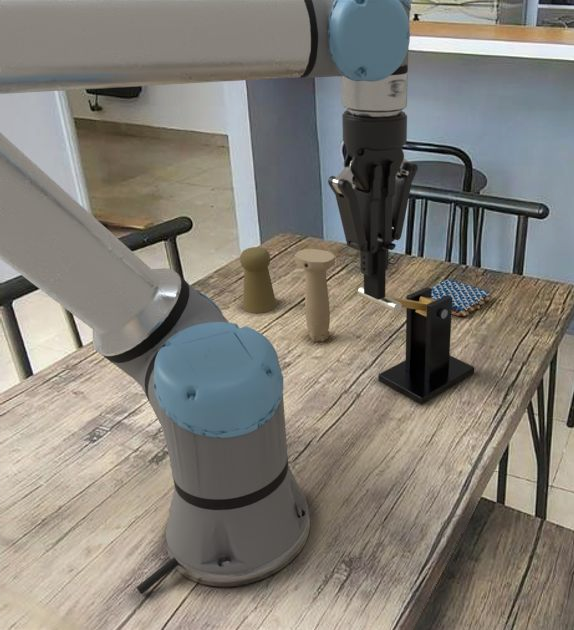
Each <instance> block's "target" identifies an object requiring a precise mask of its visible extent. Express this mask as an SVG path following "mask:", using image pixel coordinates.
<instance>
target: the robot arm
mask: <svg viewBox="0 0 574 630" xmlns="http://www.w3.org/2000/svg"><path fill="white" fill-rule="evenodd" d="M411 11H412V5H411V0H0V95H8V94H24V93H42V92H43V93H45V92H61V91H77V90H79V91H81V90H96V89H113V88H131V87H132V88H133V87H149V86H151V87H152V86H166V85H167V86H168V85H185V84H203V83H205V84H206V83H218V82H220V83H221V82H238V81H239V82H240V81H257V80H274V79H275V80H276V79H292V78H294V79H295V78H301V79H302V78H303V79H311V78H312V79H314V78H330V77H332V78H333V77H341V106H342V107H343V108H345V109H346V110H345V111H343V113H342V114H341V115H342V116H341V119H342V122H341V123H342V124H341V125H342V141H343V143H344V145H345V148H346V155H345V157H344V161H343V169H342V170H341V171H340V173H339V174H338V175H337V176H334V175H331V176H329V177H328V180H327V183H328V186H329V188H330V189H331V190H332V192H333V194H334V195H335V199H336V203H337V206H338V208H337V209H338V212H339V216H340V221H341V225H342V230H343V233H344V238H345V242H346V246H347V247H348V248H351V249H353V250H356V251H358V252H360V257H359V258H360V272H361V274H363V286H364V294H366V295H369V296H371V297H373V298H375V299H377V300H379V299H381V298H384V297H385V296H386V273H387V272H386V271H387V270H388V269H389V255H390V253H389V252H390V251H393V250H394V249H396V247H397V244H395V243H394V241H400V240H401V238H402V236H403V235H402V234H403V230H404V224H405V219H406V214H407V210H408V205H409V199H410V193H411V188H412V183H413V181H414V178H415V176H416V174H417V172H418V169H419V165H418V164H417V163H414V162H411V161H408V160H407V159H405V152H404V150H403V147H404V146H405V145H406V144H407V141H408V115H407V114H406V113H405V112H404V111H403V110H405V109H406V108H407V107H408V84H409V83H408V79H409V78H408V75H409V50H410V49H409V47H410V41H411V39H410V38H411V32H410V30H411V27H410V15H411ZM0 260H1V261H2V262H3V263H5V264H6V265H8V266H9V267H10V268H12V269H13V270H14V271H16V272H17V273H18V274H19V275H21V276H22V277H23V278H25V279H26V280H28V281H29V282H30V283H31V284H32V285H34V286H35V287H37V288H38V289H39V290H40V291H42V292H43V293H45V294H46V295H47V296H48V297H50V298H51V300H53V301H55V302H56V303H57V304H59V306H62V307H63V308H64V309H65V310H67V311H68V312H69V313H70V314H72V315H73V316H75V317H76V318H77V319H79V320H80V321H81V322H83V323H84V324H85V325H86V326H88V327H89V328H90V329H91V330H92V346H93V349H94V350H95V351H96V353H98V354H100V355H101V356H102V357H104V358H105V359H106V360H107V361H109V362H110V363H111V364H113V365H114V366H115V367H117V368H118V369H120V370H121V371H122V372H124V373H125V374H126V375H128V376H129V377H130V378H132V379H133V380H134V381H135V382H136V383H137V384H139V386H140V387H141V389H142V390H143V392H144V394H145V397H146V398H147V400H148V402H149V404H150V406H151V408H152V410H153V412H154V414H155V417H156V419H157V421H158V423H159V424H160V426H161V429H162V432H163V435H164V438H165V439H164V440H165V444H166V448H167V453H168V459H169V465H170V470H171V474H172V475H171V476H172V479H173V485H174V490H173V493H172V499H171V503H170V507H169V512H168V517H167V520H166V524H165V528H164V538H165V539H164V540H165V545H166V549H167V555H168V557H169V560H168V561H167V562H165V563H164V564H163V565H161V566H160V567H159V568H158V569H156V570H155V571H154V572H153V573H152V574H151V575H149V576H147V578H146V579H144V580H143V581H142V582H141V583H139V584H138V585H137V586H136V589H137V591H138V592H139V593H140V595H143V594H144V593H146V592H147V591H149V590H150V589H151V587H153V586H154V585H155V584H156V583H157V582H159V581H160V580H161V579H162V578H164V577H165V576H166V575H167V574H169V573H170V572H171V571H173V570H174V569H175V570H177V571H178V572H179V573H180V574H181V575H182V576H184V577H185V578H187V579H189V580H191V581H192V582H194V583H197V584H201V585H206V586H210V587H222V588H224V587H237V586H243V585H248V584H252V583H256V582H258V581H261V580H263V579H266V578H268V577H270V576H272V575H274V574H276V573H277V572H279V571H280V570H282V569H284V568H285V567H286V566H288V565H289V564H290V563H291V562H292V561H294V560H295V558H296V557H297V556H298V555H299V554H300V552H301V551H302V549H303V548H304V546H305V544H306V542H307V540H308V537H309V533H310V530H311V529H310V527H311V520H310V507H309V502H308V501H307V498H306V496H305V494H304V493H303V490H302V489H301V487H300V485H299V483H298V481H297V479H296V477H295V476H294V474H293V472H292V470H291V468H290V467H289V466H290V465H289V457H288V456H289V455H288V442H287V428H286V417H285V415H286V414H285V403H284V402H285V401H284V375H283V373H282V368H281V365H280V361H279V356H278V353H277V351H276V349H275V347H274V345H273V344H272V342H271V341H270V339H268V338H267V337H266V336H265V335H263V334H262V333H261V332H259V331H258V330H256V329H254V328H251V327H249V326H247V325H246V326H243V327H239V325H238V324H237V323H235V322H229V320H227V318H226V317H225V316H224V314H223V312H222V310H221V309H220V308H219V306H218V305H217V304H216V302H214V301H213V300H212V298H210V297H209V296H208V295H206V294H205V293H202V292H200V291H199V290H198V289H196V288H194V287H193V286H192V285H190V283H189V282H188V281H186V279H184V278H183V277H182V276H181V275H180V274H179V273H177V272H176V271H174V270H173V269H171V268H165V267H164V268H151V267H150V266H149V265H148V264H147V263H146V262H145V261H143V260H142V258H140V257H139V256H138V255H136V254H135V252H133V251H132V250H131V249H130V248H129V247H128V246H127V245H125V244H124V243H123V242H122V240H121V239H119V238H118V237H117V236H116V235H115V234H114V233H112V232H111V231H110V230H109V229H108V228H107V227H105V225H104V224H102V223H101V221H99V220H98V219H97V218H96V217H95V216H93V214H91V213H90V212H89V211H88V210H87V209H85V207H83V205H81V204H80V203H79V202H78V201H77V200H76V199H74V197H73V196H72V195H70V194H69V192H67V191H66V190H64V188H62V187H61V185H59V184H58V183H57V182H56V181H55V180H54V179H53V178H52V177H51V176H49V175H48V174H47V173H46V172H45V171H44V170H43V169H41V168H40V166H38V165H37V164H36V163H35V162H34V161H33V160H32V159H31V158H29V157H28V155H26V154H25V153H24V152H23V151H22V150H21V149H19V148H18V147H17V146H16V145H15V144H14V143H13V142H12V141H10V140H9V138H8V137H6V136H5V135H4V134H3V133H2V132H0Z"/></svg>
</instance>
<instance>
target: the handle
mask: <svg viewBox="0 0 574 630" xmlns="http://www.w3.org/2000/svg"><path fill="white" fill-rule="evenodd" d="M294 263H295V264H296V265H297V266H299V267H300V268H302V269H303V270H304V276H305V278H304V281H305V282H304V286H305V287H304V289H305V290H304V291H305V292H304V296H305V297H304V298H305V299H304V300H305V301H304V308H305V320H306V326H307V333H308V337H309V339H311V340H312V342H314V343H316V342H325V341H326V340H327V339H329V337H330V330H329V329H330V323H331V322H330V320H331V311H330V310H331V308H330V297H329V290H328V279H327V270H328V269H330V268H332V267H333V266H335V263H336V256H335V254H333V253H332V252H330V251H327V250H323V249H315V248H304V249H301V250H299V251H296V252H295V254H294Z"/></svg>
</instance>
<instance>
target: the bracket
mask: <svg viewBox="0 0 574 630" xmlns="http://www.w3.org/2000/svg"><path fill="white" fill-rule="evenodd" d="M420 297H427V298H432V288H431V287H429V286H425V287H423V288H421V289H419V290H416V291H414V292H411V293H409V294H407V295H406V299H407V300H413V301H418V302H419V299H420ZM405 309H406V310H405V311H406V312H405V314H406V315H405V360H403V361H401V362H399V363H397V364H395V365H393V366H392V367H390V368H388V369H386V370H383V371H382V372H381V373H378V377H377V378H378V382H380V383H382V384H383V385H385V386H387V387H389V388H390V389H392V390H394V391H396V392H398V394H399V393H400V394H401V395H403V396H404V397H407V398H408V399H410V400H412V401H413V402H415V403H416V404H419V405H421V406H422V405H424V404H426V403H427V402H429V401H430V400H432V399H434V398H436V397H438V396H439V395H441V394H443V393H444V392H446V391H447V390H449V389H451V388H452V387H454V386H456V385H457V384H459V383H461V382H463V381H464V380H466V379H468V378H470V377H471V376H473V375H475V367H474V366H473V365H471V364H469V363H466V362H465V361H462V360H461V359H458V358H456V357H454V356H452V355H451V335H452V333H451V332H452V315H453V314H452V297H451V296H448V295H447V296H444V297H442V298H440V299H438V300H436V301H434V302H431V303H429V304H427V317H426V316H423V315H421V314H419V313H417V312H415V311H416V309H410V308H405Z"/></svg>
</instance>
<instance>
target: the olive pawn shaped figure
mask: <svg viewBox="0 0 574 630" xmlns="http://www.w3.org/2000/svg"><path fill="white" fill-rule="evenodd" d="M239 260H240V261H239V262H240V264H241V266H242V267H243V269H244V270H243V293H242V294H243V296H242V297H243V298H242V309H243V311H245V312H247V313H250V314H263V313H268V312H271V311H272V310H274V309H275V308H276V307H277V301H276V296H275V292H274V287H273V284H272V279H271V274H270V270H269V266H270V263H271V255H270V252H269V251H268V250H267V249H266V248H264V247H260V246H252V247H248V248H245V249H244V250H243V251H242V252H241V253H240V257H239Z"/></svg>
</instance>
